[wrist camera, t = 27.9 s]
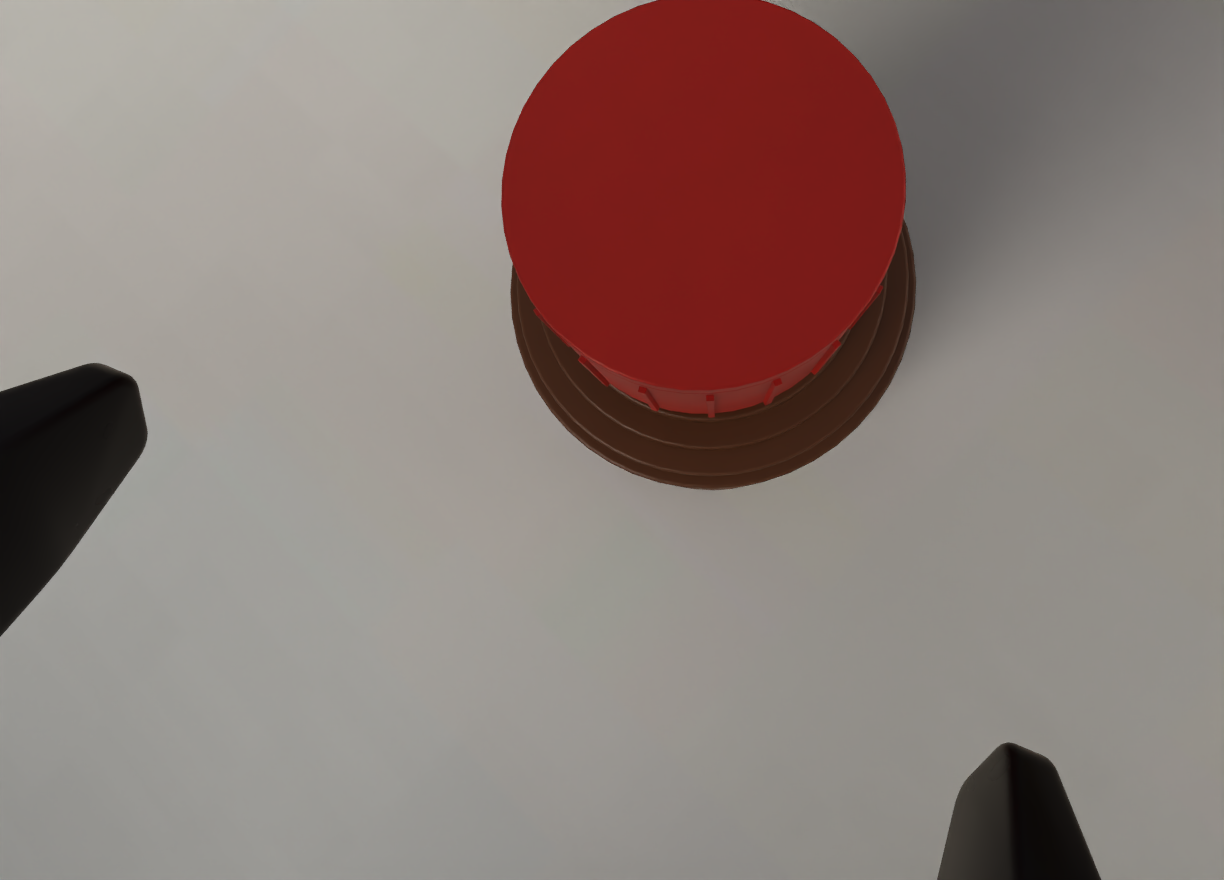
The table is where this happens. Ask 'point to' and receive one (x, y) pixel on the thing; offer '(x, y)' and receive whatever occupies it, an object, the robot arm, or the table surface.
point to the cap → (704, 200)
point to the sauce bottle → (735, 439)
